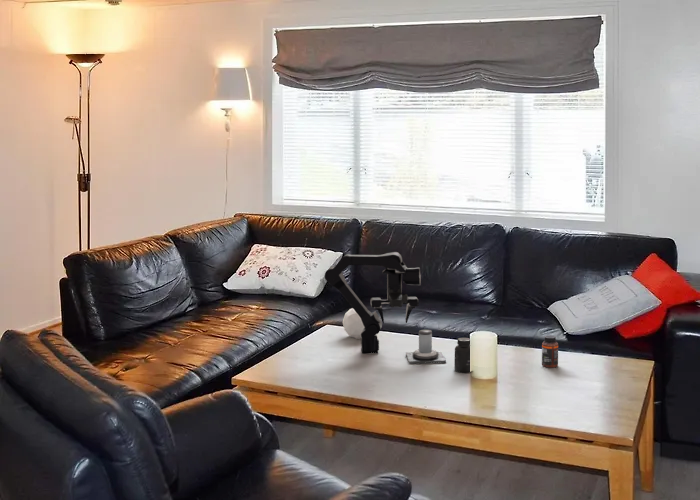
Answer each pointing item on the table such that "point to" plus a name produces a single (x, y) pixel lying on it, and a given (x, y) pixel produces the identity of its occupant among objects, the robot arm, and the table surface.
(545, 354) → the supplement bottle
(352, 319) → the geodesic sphere
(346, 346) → the table surface
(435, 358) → the base
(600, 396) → the table surface
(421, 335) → the knob
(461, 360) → the supplement bottle
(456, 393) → the table surface
